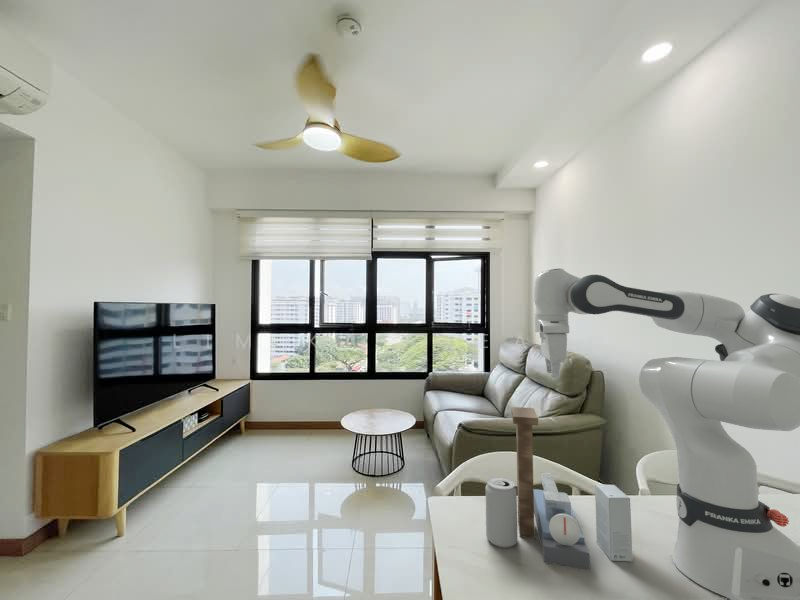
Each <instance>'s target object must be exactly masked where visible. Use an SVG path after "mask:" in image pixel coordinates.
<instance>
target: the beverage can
mask: <svg viewBox="0 0 800 600" xmlns="http://www.w3.org/2000/svg"><path fill="white" fill-rule="evenodd" d="M484 490H485V530H486V531H485V533H486V534H485V536H486V538H487V540H488V541H489V542H490V543H491V544H492V545H494V546H496V547H498V548H503V549H507V548H511V547H513V546H515V545H516V544H517V542H518V494H517V488H516V486H515V482H514V481H512V480H510V479H509V478H505V477H501V476H499V477H491V478H489V479H487V482H486V485H485V489H484Z"/></svg>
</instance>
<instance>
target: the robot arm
mask: <svg viewBox="0 0 800 600" xmlns="http://www.w3.org/2000/svg"><path fill="white" fill-rule="evenodd" d="M533 289H534V290H533V301H534V305H535V310H534V311H535V312H534V331H535V333H539V338H540V354H541V356H542V357H544V361H545V366H546V367H545V369H546V372H547V374H551V377H552V379H559V378H560V370H561V363H565V362H566V358H567V351H568V350H567V347H568V346H567V345H568V334H570V326H569V313H575V314H578V315H601V314H607V313H609V312H611V313H612V312H622V313H627V314H633V315H640V316H644V317H648V318H651V319H652V321H653V323H654V324H655V325H656V326H657V327H658V328H661V329H665V330H668V331H673V332H675V333H680V334H685V335H686V334H687V335H693V336H700V337H701V336H702V337H708V338H712V339H714V340H716V341H718V342H719V343H720V344H717V345H715V347H714V351H715V352H716V353H717V354H718V355H719V360H713V359H704V358H703V359H702V358H691V357H682V356H681V357H680V356H672V357H671V356H670V357H668V356H667V357H659V358H653V359H650V360H648V361H646V363H645V364H644V365H643V366H642V368H641V370H640V373H639V376H638V382H639V387H640V390H641V393H642V394H643V396H644V397H645V398H646V399H647V400H648V401H649V402H650V403H651V404H652V405H653V406H654V407H655V408H656V409H657V410H658V412H660V415H661V416H662V417H663V419H664V421H665V423H666V424H667V426H668V428H669V430H670V433H671V435H672V438H673V442H674V445H675V449H676V450H675V451H676V457H677V459H676V460H677V468H678V469H677V470H678V481H679V482H678V483H677V484H676V497H675V499H676V508H677V509H676V510H677V516H678V519H679V521H678V529H677V535H676V541H675V545H674V547H673V551H672V553H671V559H672V560H671V561H672V562H673V564H674V565H675V566H676V567H677V568H678V570H679V571H681V573H682V574H683V575H685V576H686V577H687V578H688V579H690V580H692V581H693V582H695V583H696V584H698V585H700V586H701V587H703V588H705V589H707V590H709V591H711V592H713V593H716V594H718V595H721V596H722V597H725V598H727V599H728V600H800V545H798V544H797V543H796V542H795V541H794V540H792V539H791V538H789V537H788V536H787V535H786V534H785V533H783V532H781V531H780V529H778V528H776V527H775V526H774V525H773V524H772V522H774V523H775V524H776V525H777V526H779V527H783V528H784V527H787V526H788V525H789V522H790V519H789V517H787V516H786V515H785V514H783V513H781V512H780V511H779V510H778V509H775V508H774V509H771V508H770V507H769V505H767V504H765V503H763V502H762V501H761V500H759V489H758V488H759V487H758V473H757V472H758V470H757V469H758V468H757V463H756V461H755V459H754V457H753V455H752V454H751V453H750V452H749V450H747V449H746V448H745V447H744V446H743V445H741V444H740V443H739V442H737V441H735V440H734V439H733V438H732V437H731V436H730V435H729V434H728V433H727V431H726V430H725V428H724V426H723V425H722V423H726V424H730V425H734V426H739V427H744V428H747V429H754V430H764V431H765V430H766V431H779V432H791V431H794V430H796V429H798V428H800V298H799V297H796V296H793V295H789V294H780V293H768V294H762V295H760V296H759V297H758V298H757V299H755V301H754V302H753V303H752V304H751V305H750V309H749V310H747V313H745V310H744V309H743V307H742V306H741V305H740V304H739V303H737V302H735V301H732V300H728V299H726V298H722V297H719V296H715V295H710V294H706V293H700V292H694V291H683V290H681V291H680V290H668V291H667V290H666V291H652V290H646V289H640V288H636V287H629V286H624V285H622V284H619V283H618V282H615V281H613V280H612V279H610V278H608V277H607V276H604V275H601V274H588V275H586V276H583V277H578V276H576V275H573V274H572V273H569V272H567V271H566V270H564V268H552V269H548V270H544V271H541V272H540V273H539V274H538V275H536V277H535V280H534V288H533ZM721 422H722V423H721ZM771 521H772V522H771Z"/></svg>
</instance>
